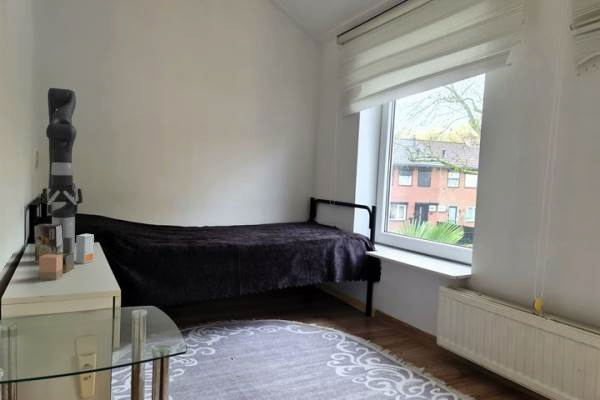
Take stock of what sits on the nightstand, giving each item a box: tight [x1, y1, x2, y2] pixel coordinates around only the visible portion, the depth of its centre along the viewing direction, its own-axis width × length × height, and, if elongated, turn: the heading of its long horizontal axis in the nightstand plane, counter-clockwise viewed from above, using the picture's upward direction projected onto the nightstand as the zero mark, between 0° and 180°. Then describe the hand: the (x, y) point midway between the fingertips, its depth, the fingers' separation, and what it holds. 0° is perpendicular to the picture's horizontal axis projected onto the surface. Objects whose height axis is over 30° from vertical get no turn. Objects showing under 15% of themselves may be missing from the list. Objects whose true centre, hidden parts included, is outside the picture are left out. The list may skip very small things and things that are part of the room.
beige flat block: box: [60, 238, 73, 263], centre depth 172 cm, size 12×3×9 cm, turn 5°
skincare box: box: [75, 233, 95, 265], centre depth 188 cm, size 6×4×12 cm
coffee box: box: [33, 223, 63, 264], centre depth 185 cm, size 9×6×16 cm
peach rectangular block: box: [38, 254, 63, 281], centre depth 162 cm, size 5×6×8 cm
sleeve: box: [57, 252, 75, 274], centre depth 173 cm, size 7×5×7 cm, turn 5°
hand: (62, 214), depth 176 cm, fingers open, 8 cm apart
